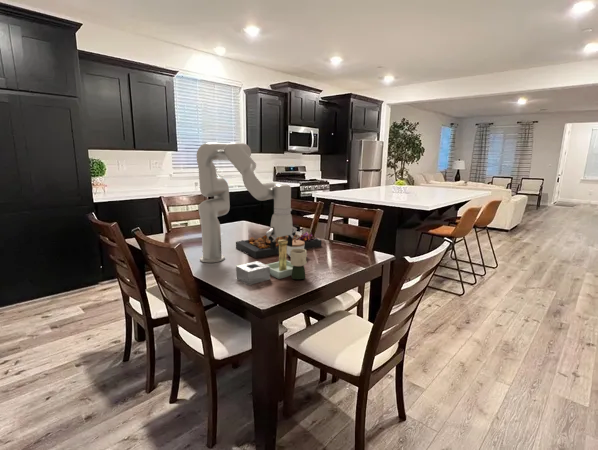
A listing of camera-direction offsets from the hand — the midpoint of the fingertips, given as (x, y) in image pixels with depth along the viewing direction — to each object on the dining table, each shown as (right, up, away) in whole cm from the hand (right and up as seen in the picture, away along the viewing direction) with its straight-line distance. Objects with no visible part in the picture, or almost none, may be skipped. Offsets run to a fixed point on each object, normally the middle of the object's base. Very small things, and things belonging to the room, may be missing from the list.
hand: (281, 247), depth 161 cm
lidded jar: (+6, -7, +28) cm, 29 cm away
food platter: (-4, -3, +46) cm, 46 cm away
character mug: (+8, -14, -6) cm, 17 cm away
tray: (0, -12, +2) cm, 12 cm away
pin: (0, -11, +2) cm, 11 cm away
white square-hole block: (-12, -13, -8) cm, 20 cm away
